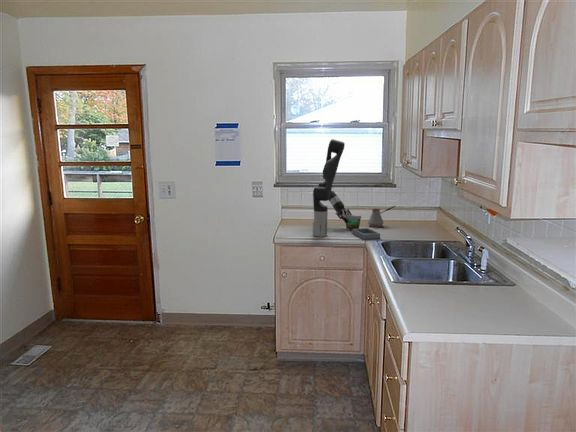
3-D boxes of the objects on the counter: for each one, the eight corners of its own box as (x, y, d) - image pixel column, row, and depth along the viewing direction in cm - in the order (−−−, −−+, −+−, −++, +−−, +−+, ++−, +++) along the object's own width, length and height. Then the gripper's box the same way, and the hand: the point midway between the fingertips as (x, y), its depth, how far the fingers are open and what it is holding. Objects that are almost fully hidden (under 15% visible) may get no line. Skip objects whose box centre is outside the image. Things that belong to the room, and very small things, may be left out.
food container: (341, 228, 312) (342, 215, 310) (344, 227, 317) (345, 213, 316) (358, 230, 306) (358, 216, 304) (360, 229, 312) (361, 215, 310)
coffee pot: (370, 228, 318) (371, 208, 316) (365, 225, 330) (366, 205, 327) (398, 227, 322) (399, 207, 319) (392, 223, 333) (393, 204, 330)
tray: (363, 239, 283) (363, 234, 283) (352, 233, 300) (352, 229, 300) (380, 238, 287) (380, 233, 286) (367, 232, 304) (368, 227, 303)
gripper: (333, 201, 311) (346, 220, 305) (345, 199, 321) (358, 217, 315) (327, 208, 315) (340, 226, 309) (339, 205, 326) (352, 223, 320)
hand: (349, 222), depth 312 cm, fingers closed on food container, 5 cm apart
